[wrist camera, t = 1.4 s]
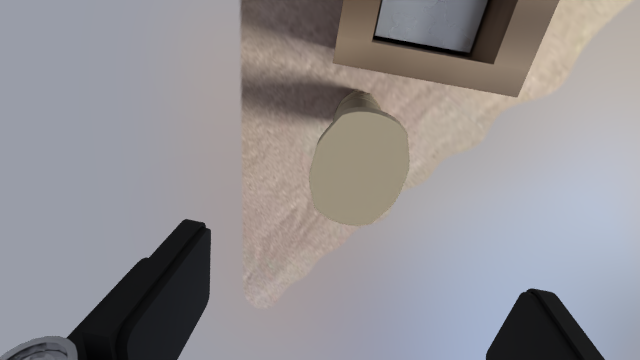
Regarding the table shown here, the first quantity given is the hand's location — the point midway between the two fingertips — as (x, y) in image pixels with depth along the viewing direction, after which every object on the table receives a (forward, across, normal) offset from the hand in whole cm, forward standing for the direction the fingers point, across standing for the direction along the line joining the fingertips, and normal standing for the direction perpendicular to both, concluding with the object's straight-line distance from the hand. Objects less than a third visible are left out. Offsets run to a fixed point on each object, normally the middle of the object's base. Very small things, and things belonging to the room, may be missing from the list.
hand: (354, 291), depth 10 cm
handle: (+23, 0, -1) cm, 23 cm away
